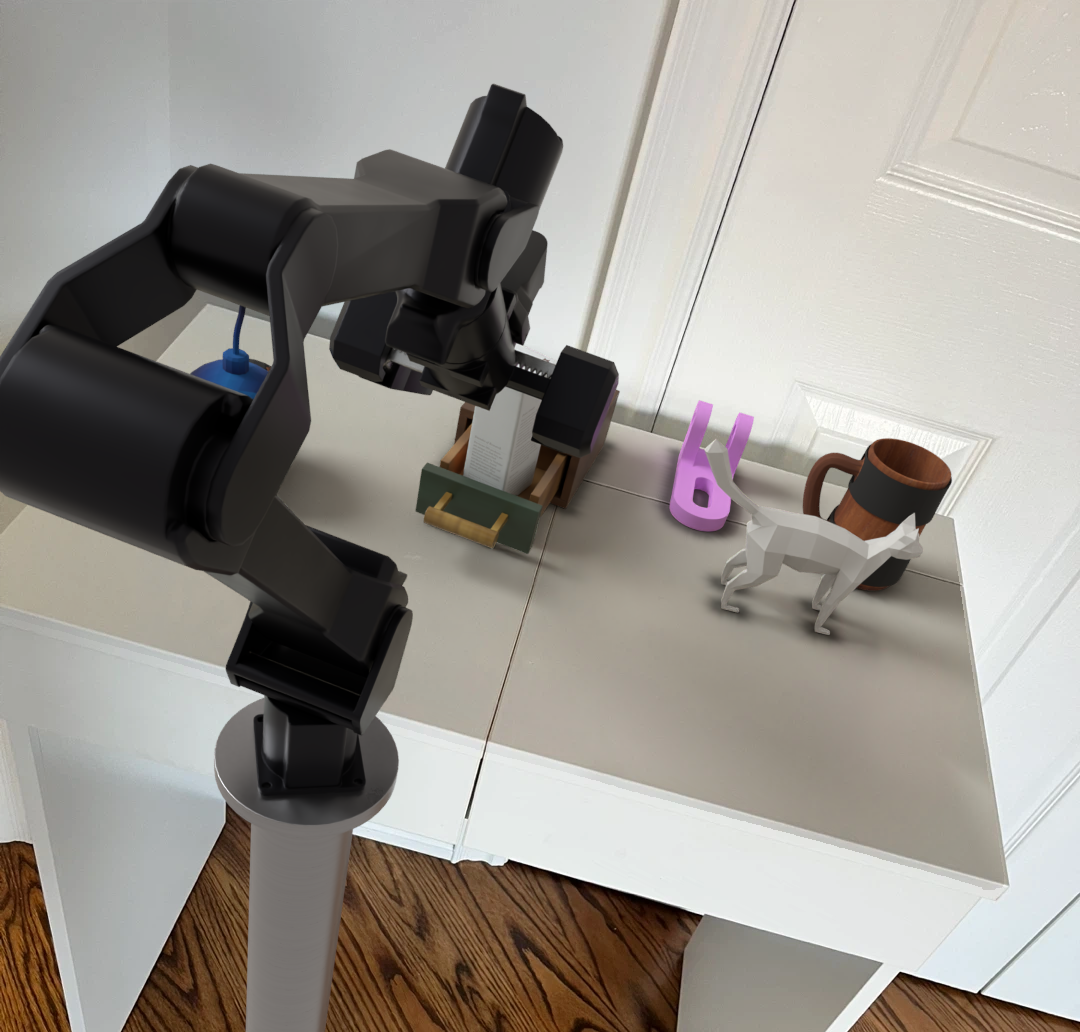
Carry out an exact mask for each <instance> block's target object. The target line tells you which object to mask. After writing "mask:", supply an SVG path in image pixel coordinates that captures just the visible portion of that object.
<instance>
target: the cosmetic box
mask: <svg viewBox="0 0 1080 1032" xmlns="http://www.w3.org/2000/svg"><path fill="white" fill-rule="evenodd" d="M514 350H517V351H520V352H522V353H525V354H528V355H531V356H533V357H536V358H539V359H542V360H544V361H547V362H550V363H553V364H555V365H556V363H557V361H558V360H556V359H554V358H552V357H550V356H547V355H545V354H543V353H541V352H539V351H537V350H535V349H533V348H531V347H528V346H526V345H525V344H524V345H523V346H522V345H519V344H517V343H516V346H515V348H514ZM517 367H519V364H518V366H517ZM522 369H525V366H524V367H523V368H522ZM528 371H530V368H529V370H528ZM533 373H536V370H535V371H534V372H533ZM539 375H541V372H540V374H539ZM544 377H547V374H546V375H545V376H544ZM541 401H542V400H540V399H537V398H535V397H532V396H529V395H527V394H524V393H521V392H518V391H516V390H513V389H510V388H508V387H505V388H504V389H503V390H502V391H500V392H499V393H498V394H496V396H495V398H494V401H493V403H492V406H491V408H490V411H488V410H485V409H483V408H480V407H477V406H475V410H474V416H473V422H472V427H471V433H470V439H469V444H468V450H467V456H466V462H465V467H464V473H463V476H465V477H468V478H470V479H473V480H476V481H478V482H481V483H484V484H486V485H489V486H492V487H494V488H497V489H500V490H502V491H505V492H508V493H510V494H513V495H516V496H518V495H519V494H520V493H521V492H523V491H524V490H525V489H526V488H527V487H529V486H530V485H531V484H532V481H533V477H534V472H535V468H536V464H537V459H538V455H539V451H540V446H541V444H538V443H535V442H532V441H531V438H532V430H533V425H534V421H535V417H536V413H537V411H538V408H539V406H540V403H541Z"/></svg>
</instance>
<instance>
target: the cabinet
mask: <svg viewBox="0 0 1080 1032" xmlns="http://www.w3.org/2000/svg"><path fill="white" fill-rule="evenodd" d="M620 392H621V391H620V390H618V389H616V391H615V393H614V396H613V399H612V401H611V404H610V406H609V409H608V411H607V414H606V416H605V419H604V421H603V424H602V426H601V429H600V431H599V434H598V436H597V439H596V441H595V444H594V447H593V449H592V452H591V453H590V454H588V455H586V456H584V457H581V458H578V457H576V456H573V455H570V454H568V453H564V454H567V455H570V459H569V462H568V466H567V470H566V473H565V477H564V481H563V482H562V484H561V486H560V487H559V489H558V490H557V492H556V494H555V495H554V497H553V498H552V500H551V502H550V503H549V504H552V505H555V506H557V507H560V508H563V509H565V510H566V509H567V508H568V506H569V505H570V503H571V501H572V500H573V498H574V496H575V495H576V493H577V492H578V490H579V488H580V486H581V485H582V483H583V481H584V479H586V476H587V474H588V473H589V472H590V470H591V468H592V467H593V465H594V463H595V461H596V460H597V458H598V456H599V454H600V452H601V451H602V449H603V448H604V446H605V443H606V439H607V436H608V434H609V429H610V428H611V427H610V426H611V423H612V419H613V416H614V413H615V410H616V406H617V403H618V399H619V396H620ZM474 410H475V405H472V404H469V403H467V402H463V404H461V406H460V409H459V415H458V419H457V425H456V429H455V431H456V432H455V437H454V443H453V445H454V444H455V443H456V442H457V440H458V439H459V438H460V437H461V436H462V435H463V433H464V432H465V431H466V430H467V429H468V427H469V426H470V425H471V424H472V422H473V416H474ZM545 447H546V446H545ZM548 448H549V447H548ZM556 451H557V450H556Z"/></svg>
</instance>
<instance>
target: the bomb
mask: <svg viewBox="0 0 1080 1032" xmlns="http://www.w3.org/2000/svg"><path fill="white" fill-rule="evenodd" d="M238 306H239V307H238V313H237V317H236V320H235V324H234V327H233V335H232V347H231V348H227V349H225V350H224V351H222V358H221V359H216V360H213V361H210V362H206V363H204V364H202V365H200V366H199V367H197V368H195V369H194V370H192V371H191V372H190V373H189V374H191V375H194V376H197V377H199V378H202V379H205V380H207V381H210V382H213V383H215V384H218V385H221V386H223V387H226V388H229V389H232V390H234V391H237V392H240V393H242V394H245V395H248V396H249V397H251V398H252V399H254V398H255V396H256V394H257V392H258V390H259V388H260V387H261V385H262V383H263V381H264V379H265V377H266V376H267V374H268V372H269V370H270V368H271V366H272V365H270V364H267V363H266V362H264V361H260V360H259V359H254V358H250V355H249V354H248V353H247V352H246V351H245V350H243V349H241V348H240V339H241V337H240V336H241V332H242V331H241V330H242V326H243V323H244V319H245V316H246V309H247V308H246V307H243V306H240V305H238Z"/></svg>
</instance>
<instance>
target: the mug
mask: <svg viewBox="0 0 1080 1032" xmlns="http://www.w3.org/2000/svg"><path fill="white" fill-rule="evenodd" d="M830 469H836V470H838V471H841V472H842V473H845V474H848V475H851V477H850V479H849V482H848V485H847V489H846V490H845V493H844V495H843V497H842V498H841V500H840V502H839V504H837V505H836V506H835V507H834V508H833V509H832V511H831V512H830V514H829V515H828V517H827V518H826V519H825V518H823V517H822V515H821V510H820V504H821V493H822V489H823V485H824V482H825V479H826V476H827V473H828V472H829V470H830ZM952 477H953V476H952V471H951V469H950V467H949V466H948V465H947V463H946V462H945V461H944V460H943V459H942V458H941V457H939V456H938V455H937V454H935V453H934V452H932V451H930V450H929V449H927V448H925V447H924V446H921V445H919V444H917V443H913V442H910V441H907V440H904V439H899V438H891V437H885V438H878V439H876V440H874V441H873V442H872V443H871V444H869V445H868V446H867V447H866V449H865V451H864V453H863V454H862V456H861V458H860V459H857V458H854V457H851V456H849V455H847V454H844V453H841V452H829V453H825V454H823V455H821V456H820V457H819V458H818V459H817V460H816V461H815V463H814V464H813V465H812V467H811V469H810V471H809V473H808V475H807V478H806V480H805V481H806V482H805V486H804V490H803V494H802V495H803V496H802V514H805V515H811V516H816V517H819V518H821V519H823V520H826V521H828V522H830V523H833V524H835V525H837V526H840V527H842V528H844V529H846V530H848V531H849V532H851V533H852V534H854V535H855V536H857V537H858V538H860V539H862V540H863V541H867V540H871V539H876V538H881V537H886V536H888V535H889V534H890V533H892V532H893V531H894V530H896V529H897V528H898V526H899V525H900V524H901V523H902V522H903V521H904V520H905V519H907V518H908V517H909V516H910V515H912V514H913V513H915V528H916V529H918V528H919V531H918V533H919V538H920V536H921V535H922V533H923V531H924V529H925V527H926V526H927V525H928V524H929V523H931V521H933V518H934V517H935V514H936V513H937V510H938V509H939V507H940V505H941V503H942V501H943V499H944V498H945V496H946V494H947V493H948V490H949V489H950V487H951V485H952V483H953V478H952ZM911 561H912V559H908V560H905V559H898V558H895V557H893V556H891V557H890V558H889V559H887V560H886V561H885V562H884V563H883V564H882V565H881V566H880V567H879V568H878V569H877V570H875V571H874V572H873V573H872V574H871V575H870V576H869V577H867V578H866V579H865V580H864V581H863V582H862V583H861V584H860V585H858V586H857V587H856V588H855V589H858V590H863V591H871V592H872V591H874V592H876V591H881V590H882V591H883V590H885V589H887V588H889V587H891V586H894V585H895V584H898V582H899V581H900V579H902V576H904V573H905V571H906V570H907V568H908V566H909V564H910V562H911Z"/></svg>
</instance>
